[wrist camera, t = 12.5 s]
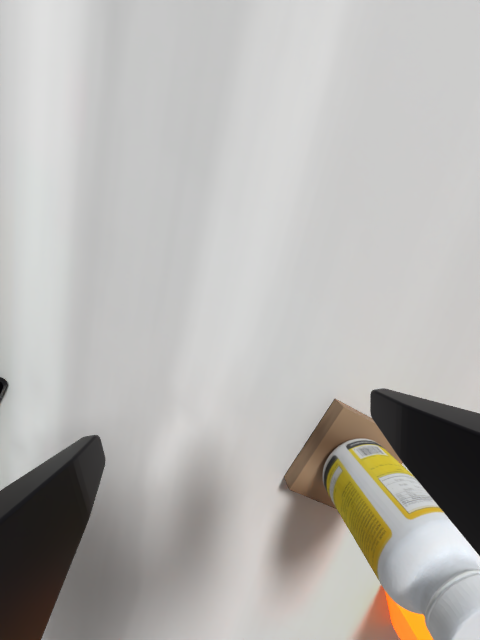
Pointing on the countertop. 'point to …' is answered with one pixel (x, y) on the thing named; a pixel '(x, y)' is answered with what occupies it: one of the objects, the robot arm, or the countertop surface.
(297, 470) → the base tile
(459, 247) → the countertop surface
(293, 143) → the countertop surface
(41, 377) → the countertop surface
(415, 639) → the orange juice
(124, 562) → the countertop surface
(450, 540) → the pill bottle
